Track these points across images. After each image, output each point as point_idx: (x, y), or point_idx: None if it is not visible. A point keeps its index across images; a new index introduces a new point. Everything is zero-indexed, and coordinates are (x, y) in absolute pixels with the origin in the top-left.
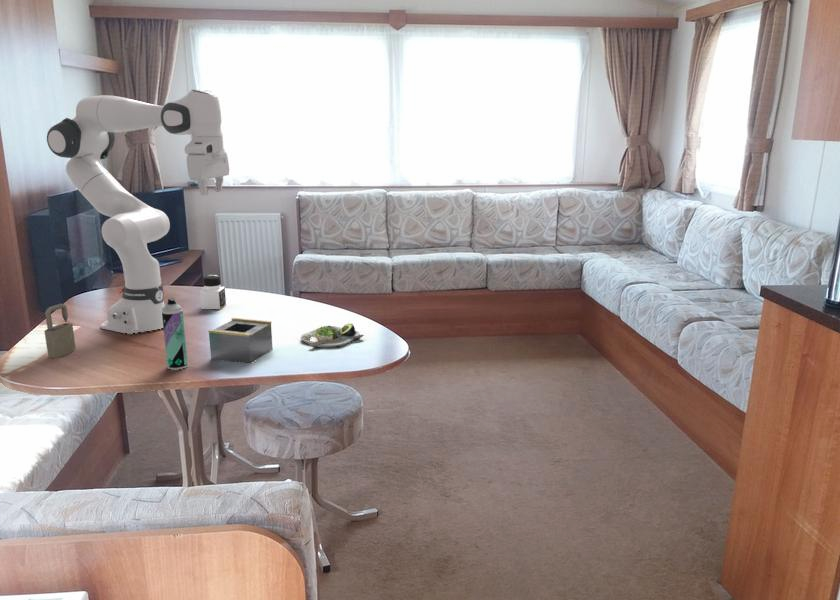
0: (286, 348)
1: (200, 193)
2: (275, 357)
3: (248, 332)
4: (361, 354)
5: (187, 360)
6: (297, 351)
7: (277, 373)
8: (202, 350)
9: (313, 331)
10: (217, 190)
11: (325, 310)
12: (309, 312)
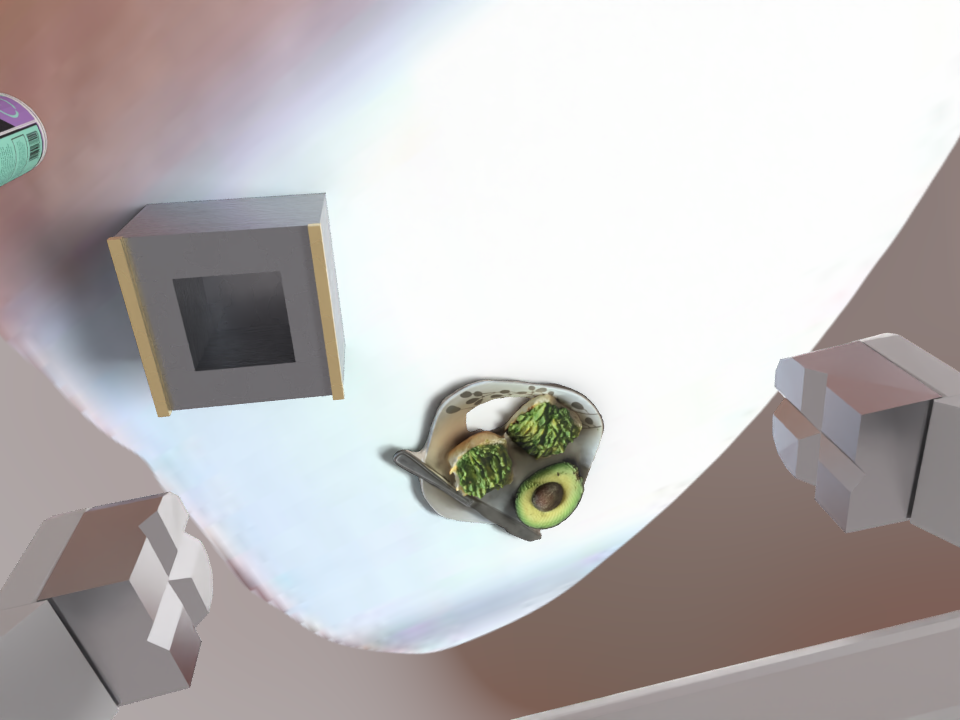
0: (372, 380)
1: (41, 526)
2: None
3: (200, 384)
4: (411, 577)
5: (28, 170)
6: (360, 424)
7: (163, 471)
8: (210, 102)
9: (540, 389)
10: (798, 409)
11: (825, 281)
12: (793, 237)
